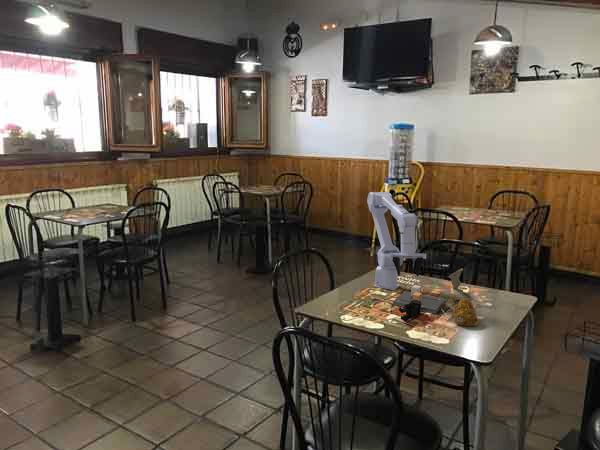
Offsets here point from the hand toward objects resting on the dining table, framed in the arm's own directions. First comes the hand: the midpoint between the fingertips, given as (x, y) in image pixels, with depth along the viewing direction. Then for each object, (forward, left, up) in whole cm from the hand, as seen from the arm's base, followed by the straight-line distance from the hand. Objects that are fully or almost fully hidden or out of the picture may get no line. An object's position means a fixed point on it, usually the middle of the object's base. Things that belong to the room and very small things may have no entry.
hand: (408, 275), depth 198 cm
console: (+7, -4, -10) cm, 12 cm away
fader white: (+4, 0, -8) cm, 9 cm away
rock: (+26, -13, -10) cm, 31 cm away
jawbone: (+17, +15, -10) cm, 25 cm away
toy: (+7, -20, -10) cm, 24 cm away
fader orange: (+7, -8, -8) cm, 13 cm away
